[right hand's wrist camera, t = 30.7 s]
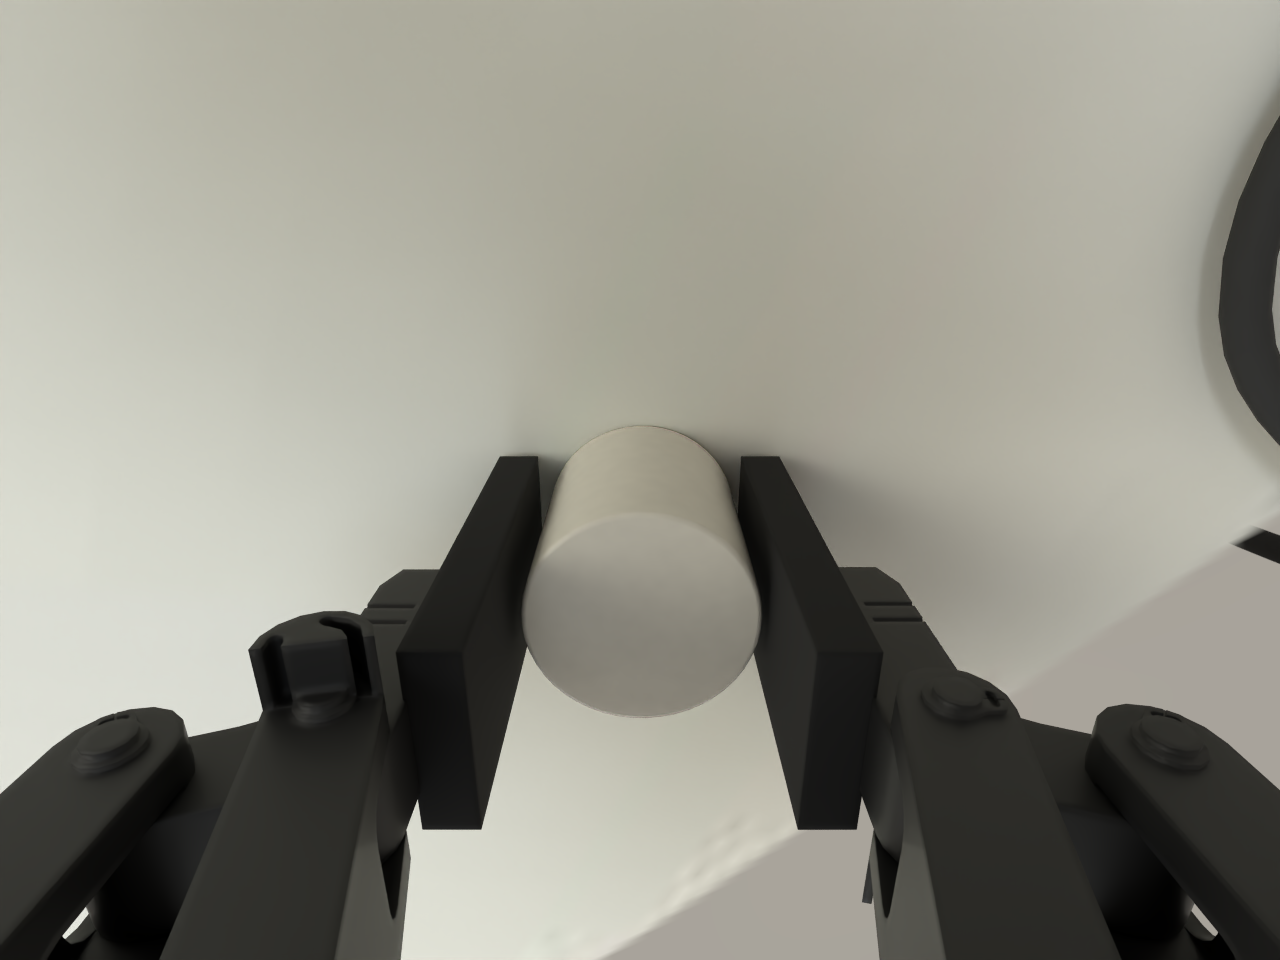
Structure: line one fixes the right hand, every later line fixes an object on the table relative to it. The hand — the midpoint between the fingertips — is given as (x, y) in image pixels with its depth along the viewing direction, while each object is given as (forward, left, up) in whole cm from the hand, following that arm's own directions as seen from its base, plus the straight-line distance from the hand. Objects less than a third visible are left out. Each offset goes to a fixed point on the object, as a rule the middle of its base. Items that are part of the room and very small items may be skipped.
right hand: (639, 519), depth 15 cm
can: (0, 0, 0) cm, 0 cm away
